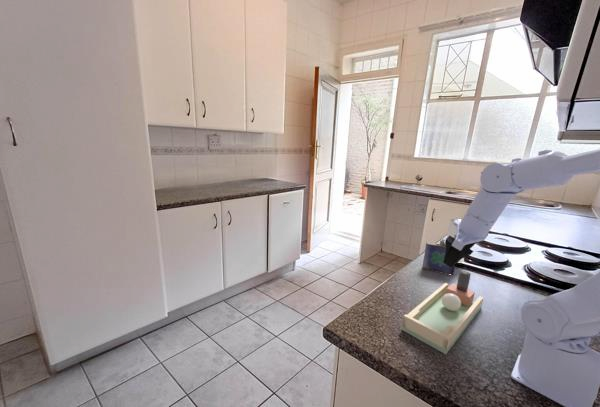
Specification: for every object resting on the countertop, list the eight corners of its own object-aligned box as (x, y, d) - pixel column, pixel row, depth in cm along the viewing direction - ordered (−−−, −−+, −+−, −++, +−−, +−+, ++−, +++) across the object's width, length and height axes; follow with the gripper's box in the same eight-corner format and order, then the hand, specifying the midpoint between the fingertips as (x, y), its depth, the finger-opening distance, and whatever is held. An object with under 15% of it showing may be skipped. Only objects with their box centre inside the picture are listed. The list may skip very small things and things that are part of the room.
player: (472, 300, 68) (478, 275, 66) (468, 306, 65) (473, 280, 64) (451, 291, 72) (455, 267, 70) (445, 297, 69) (450, 272, 67)
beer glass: (468, 267, 90) (477, 225, 87) (446, 265, 91) (454, 223, 88) (460, 259, 97) (468, 220, 93) (440, 257, 98) (447, 218, 95)
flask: (421, 268, 88) (426, 238, 85) (422, 265, 90) (427, 235, 88) (453, 276, 84) (459, 244, 81) (453, 272, 86) (459, 241, 84)
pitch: (481, 307, 67) (483, 295, 66) (445, 354, 51) (448, 338, 50) (443, 292, 74) (445, 281, 73) (401, 329, 58) (403, 315, 57)
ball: (461, 310, 64) (464, 295, 63) (456, 316, 61) (459, 301, 60) (444, 302, 67) (446, 288, 66) (437, 308, 64) (440, 293, 63)
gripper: (475, 196, 65) (450, 237, 72) (450, 215, 56) (425, 260, 64) (506, 211, 61) (477, 253, 68) (485, 234, 52) (454, 279, 60)
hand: (454, 257), depth 66 cm, fingers open, 7 cm apart
